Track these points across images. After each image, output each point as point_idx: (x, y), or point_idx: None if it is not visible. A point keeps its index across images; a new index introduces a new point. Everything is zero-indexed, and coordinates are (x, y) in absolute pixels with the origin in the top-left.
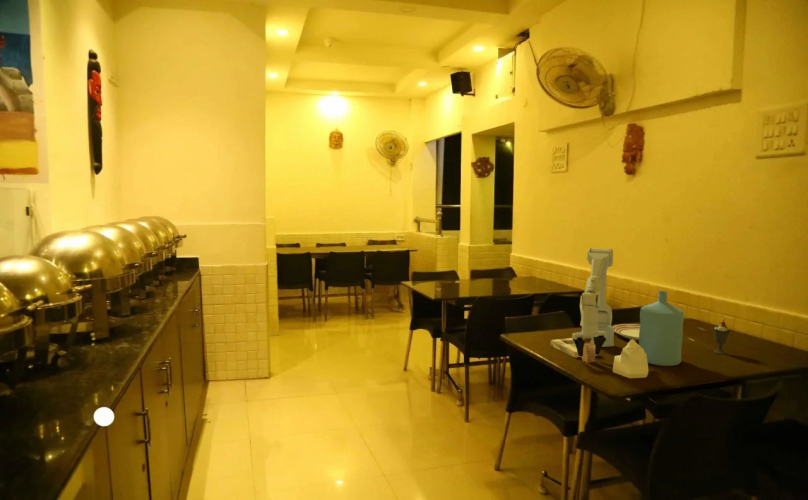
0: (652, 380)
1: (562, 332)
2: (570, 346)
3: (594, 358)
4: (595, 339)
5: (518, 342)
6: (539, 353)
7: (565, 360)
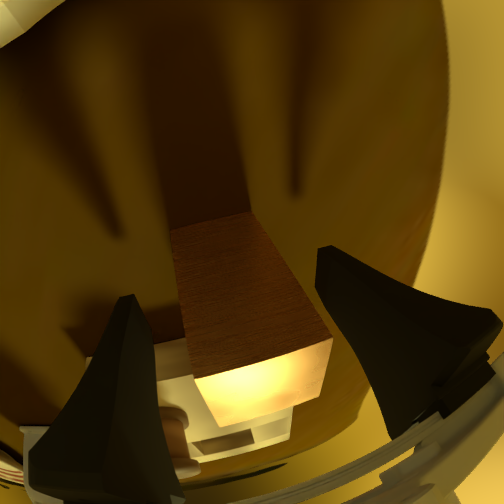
0: None
1: None
2: None
3: (178, 249)
4: (164, 470)
5: (355, 409)
6: None
7: None
